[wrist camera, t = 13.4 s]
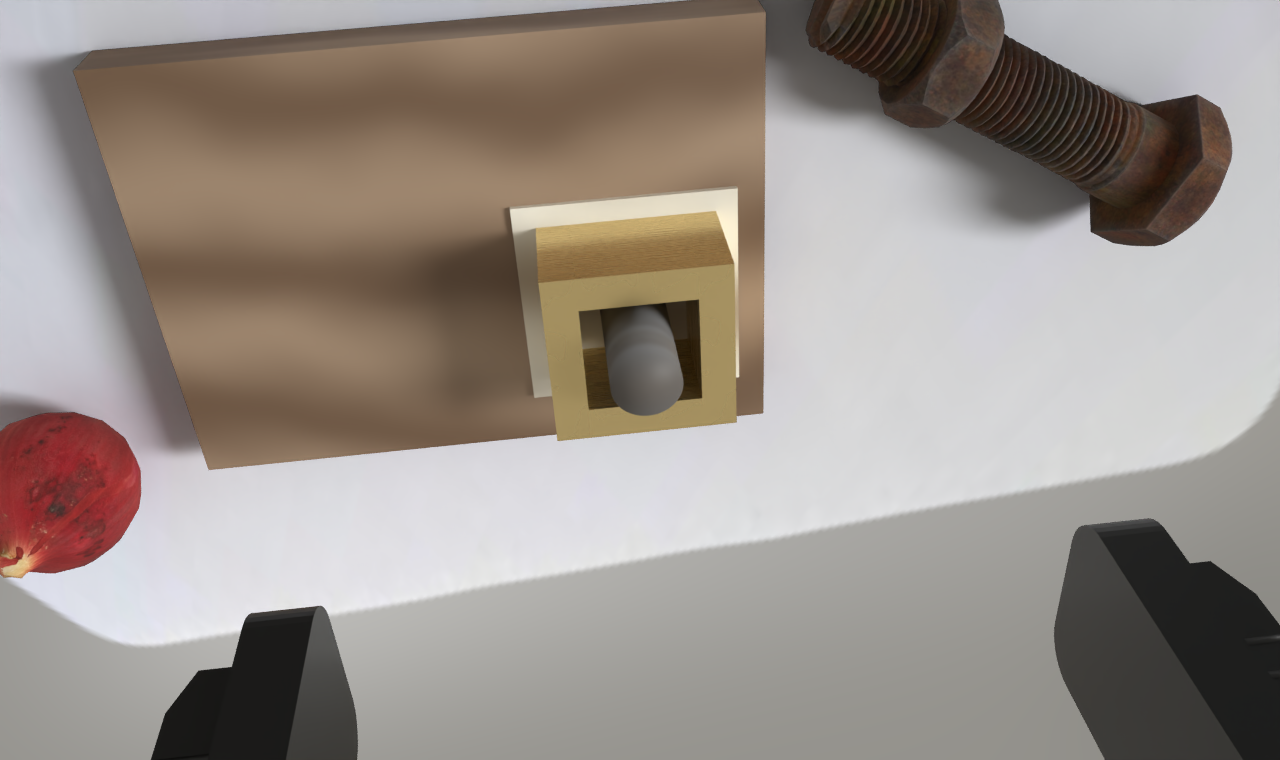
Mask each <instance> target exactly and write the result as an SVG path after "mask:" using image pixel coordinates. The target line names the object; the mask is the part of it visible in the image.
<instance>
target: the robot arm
mask: <svg viewBox="0 0 1280 760" xmlns="http://www.w3.org/2000/svg"><path fill="white" fill-rule="evenodd" d="M1054 642H1055V650H1056V656H1057V660H1058V665H1059V668H1060V671H1061V674H1062V677H1063V680H1064V682H1065V684H1066V686H1067V688H1068V690H1069V692H1070V694H1071V696H1072V697H1073V699H1074V701H1075V703H1076V705H1077V707H1078V709H1079V711H1080V713H1081V715H1082V717H1083V718H1084V720H1085V722H1086V724H1087V726H1088V728H1089V730H1090V732H1091V734H1092V736H1093V737H1094V739H1095V741H1096V743H1097V745H1098V747H1099V749H1100V751H1101V753H1102V755H1103V757H1104V758H1105V760H1280V625H1279V623H1278V622H1277V621H1276V620H1275V618H1274V617H1273V616H1272V614H1271V613H1270V612H1269V611H1268V609H1267V608H1266V607H1265V605H1264V604H1263V603H1262V601H1261V600H1260V599H1259V597H1258V596H1257V595H1256V594H1255V593H1254V592H1253V591H1251V590H1250V589H1248V588H1247V587H1246V586H1244V585H1243V584H1241V583H1240V582H1238V581H1237V580H1236V579H1234V578H1233V577H1232V576H1230V575H1229V574H1227V573H1226V572H1225V571H1223V570H1222V569H1220V568H1219V567H1218V566H1216V565H1215V564H1213V563H1212V562H1211V561H1208V562H1199V563H1189V562H1188V561H1187V559H1186V558H1185V556H1184V555H1183V554H1182V552H1181V551H1180V549H1179V548H1178V547H1177V545H1176V544H1175V542H1174V541H1173V540H1172V538H1171V537H1170V535H1169V534H1168V533H1167V531H1166V530H1165V529H1164V527H1163V526H1162V525H1160V523H1158V522H1157V521H1155V520H1154V519H1149V518H1148V519H1139V520H1130V521H1121V522H1112V523H1103V524H1093V525H1084V526H1081V527H1079V528H1078V529H1077V531H1076V532H1075V534H1074V536H1073V540H1072V544H1071V549H1070V554H1069V559H1068V563H1067V568H1066V573H1065V578H1064V582H1063V587H1062V592H1061V597H1060V602H1059V606H1058V611H1057V616H1056V621H1055V627H1054ZM357 752H358V735H357V721H356V713H355V707H354V702H353V698H352V695H351V691H350V688H349V684H348V681H347V678H346V674H345V671H344V667H343V664H342V661H341V657H340V654H339V650H338V647H337V643H336V640H335V636H334V633H333V630H332V626H331V623H330V619H329V616H328V614H327V612H326V610H325V608H324V607H322V606H315V607H306V608H297V609H288V610H278V611H269V612H260V613H251V614H249V615H248V616H247V618H246V619H245V621H244V624H243V627H242V630H241V634H240V638H239V642H238V646H237V649H236V654H235V657H234V661H233V665H232V667H228V668H219V669H210V670H201V671H198V672H197V673H196V675H195V676H194V677H193V679H192V680H191V681H190V682H189V684H188V685H187V686H186V688H185V689H184V690H183V691H182V693H181V694H180V695H179V697H178V698H177V699H176V700H175V702H174V703H173V704H172V706H171V707H170V708H169V710H168V711H167V712H166V713H165V716H164V719H163V723H162V726H161V729H160V732H159V735H158V739H157V742H156V745H155V748H154V751H153V755H152V758H151V760H357Z"/></svg>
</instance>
